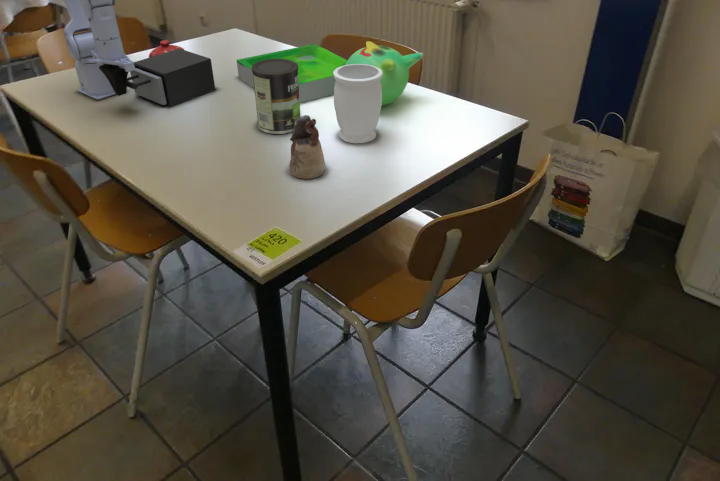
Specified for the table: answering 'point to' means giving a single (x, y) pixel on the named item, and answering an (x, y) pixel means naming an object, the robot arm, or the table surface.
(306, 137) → the figurine
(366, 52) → the toy bird
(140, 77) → the drawer
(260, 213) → the table surface
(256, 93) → the coffee can
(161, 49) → the butter dish
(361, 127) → the jar
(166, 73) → the dark grey storage box
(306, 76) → the tray
